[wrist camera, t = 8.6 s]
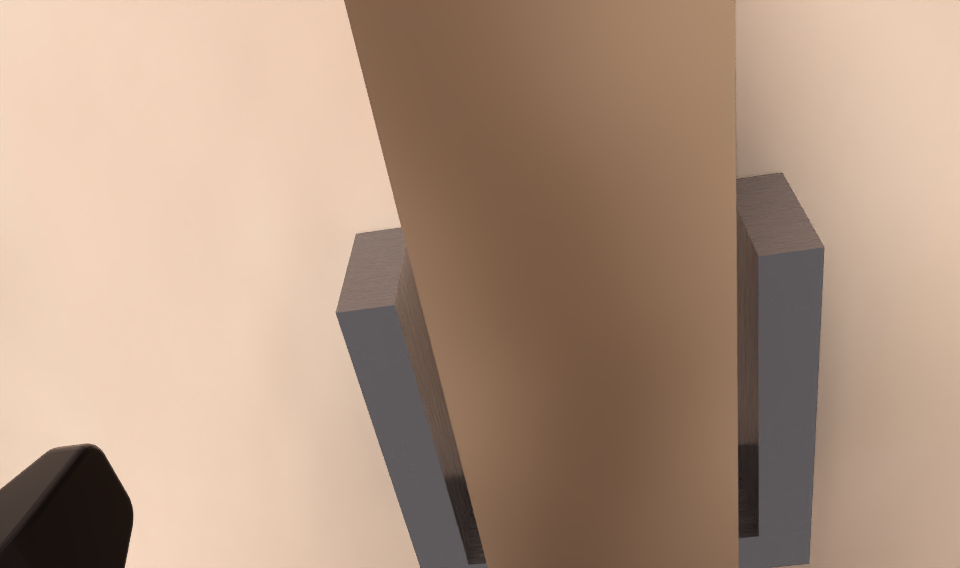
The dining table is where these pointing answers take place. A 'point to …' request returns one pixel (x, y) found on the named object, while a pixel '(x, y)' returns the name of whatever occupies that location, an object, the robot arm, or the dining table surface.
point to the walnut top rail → (573, 263)
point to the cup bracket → (760, 375)
